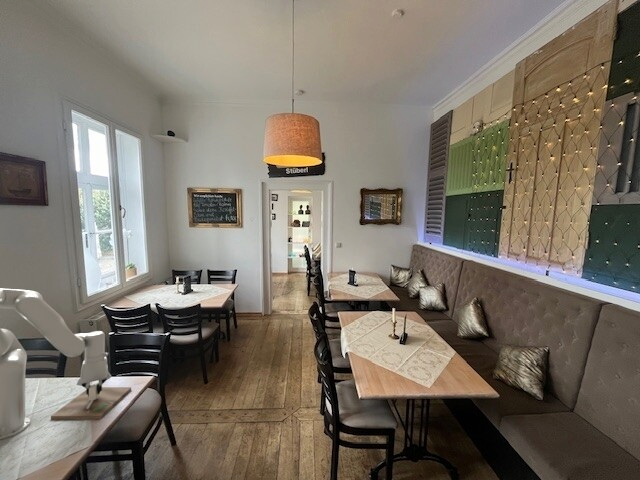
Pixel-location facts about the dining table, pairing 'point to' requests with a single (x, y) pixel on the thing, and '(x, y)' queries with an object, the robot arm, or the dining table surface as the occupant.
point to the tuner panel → (98, 406)
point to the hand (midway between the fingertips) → (94, 393)
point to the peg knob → (93, 392)
